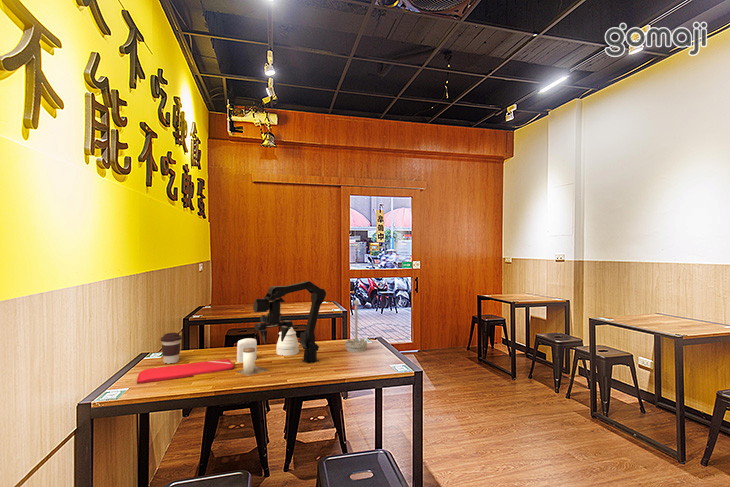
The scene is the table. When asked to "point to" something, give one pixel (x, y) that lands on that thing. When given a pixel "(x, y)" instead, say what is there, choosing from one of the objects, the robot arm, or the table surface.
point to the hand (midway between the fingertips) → (273, 342)
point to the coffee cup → (171, 347)
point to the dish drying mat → (183, 370)
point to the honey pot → (288, 344)
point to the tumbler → (248, 360)
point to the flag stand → (355, 344)
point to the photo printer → (245, 344)
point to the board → (257, 370)
